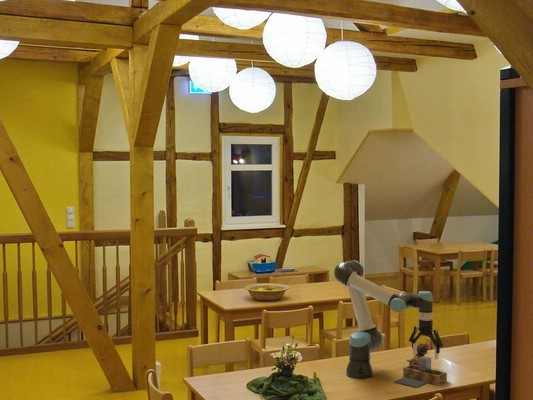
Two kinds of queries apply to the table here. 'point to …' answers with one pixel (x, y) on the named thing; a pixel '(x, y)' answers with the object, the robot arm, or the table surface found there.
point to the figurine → (419, 354)
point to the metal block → (425, 364)
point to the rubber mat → (410, 382)
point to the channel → (425, 375)
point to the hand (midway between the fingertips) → (425, 356)
